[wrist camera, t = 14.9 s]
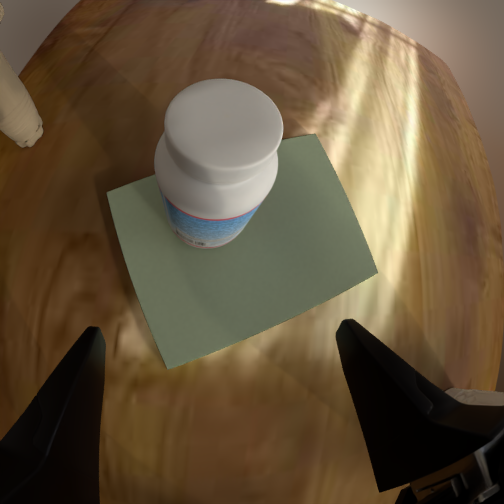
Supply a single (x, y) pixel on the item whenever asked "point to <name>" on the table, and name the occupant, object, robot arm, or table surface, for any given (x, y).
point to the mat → (243, 258)
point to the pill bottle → (216, 159)
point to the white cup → (477, 397)
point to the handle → (17, 106)
